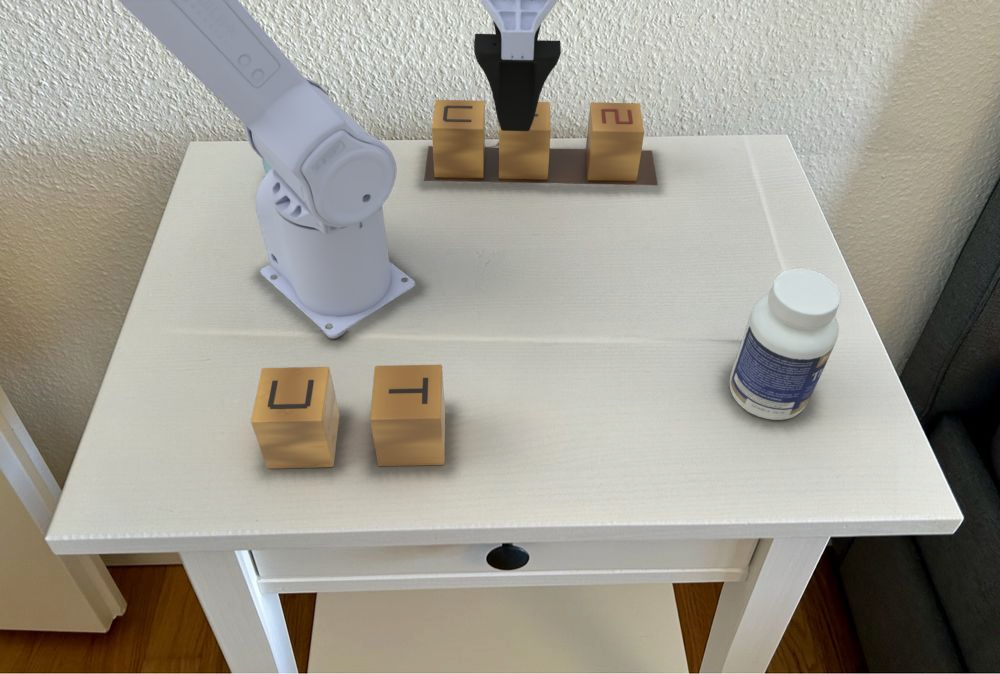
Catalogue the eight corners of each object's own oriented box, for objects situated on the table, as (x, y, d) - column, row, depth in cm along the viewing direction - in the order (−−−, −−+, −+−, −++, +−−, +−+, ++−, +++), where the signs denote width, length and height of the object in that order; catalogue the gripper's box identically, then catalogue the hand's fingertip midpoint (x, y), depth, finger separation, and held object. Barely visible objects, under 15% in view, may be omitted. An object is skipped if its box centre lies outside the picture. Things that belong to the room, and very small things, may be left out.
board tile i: (498, 178, 72) (499, 128, 69) (499, 149, 75) (500, 100, 72) (547, 179, 72) (550, 129, 69) (546, 150, 75) (549, 101, 72)
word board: (424, 185, 73) (423, 180, 72) (428, 151, 76) (428, 145, 76) (656, 190, 73) (658, 185, 72) (651, 155, 76) (652, 150, 75)
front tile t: (378, 466, 54) (369, 419, 50) (382, 413, 56) (374, 364, 53) (444, 465, 54) (440, 418, 50) (445, 412, 57) (442, 363, 53)
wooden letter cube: (587, 180, 72) (592, 130, 69) (585, 151, 75) (590, 101, 72) (636, 181, 72) (644, 131, 69) (632, 152, 75) (640, 102, 71)
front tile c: (267, 469, 53) (250, 421, 50) (276, 415, 56) (261, 366, 52) (333, 467, 54) (322, 420, 50) (340, 414, 56) (329, 365, 53)
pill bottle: (809, 429, 56) (857, 329, 49) (727, 415, 57) (761, 315, 49) (806, 367, 59) (850, 266, 52) (728, 355, 60) (761, 254, 53)
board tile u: (434, 177, 73) (431, 127, 69) (438, 148, 75) (435, 98, 72) (483, 178, 72) (483, 128, 69) (485, 149, 75) (484, 99, 72)
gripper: (590, -40, 48) (572, 157, 58) (579, -134, 58) (566, 49, 68) (466, -42, 48) (470, 155, 58) (476, -136, 58) (478, 47, 68)
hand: (515, 98), depth 63 cm, fingers open, 7 cm apart
